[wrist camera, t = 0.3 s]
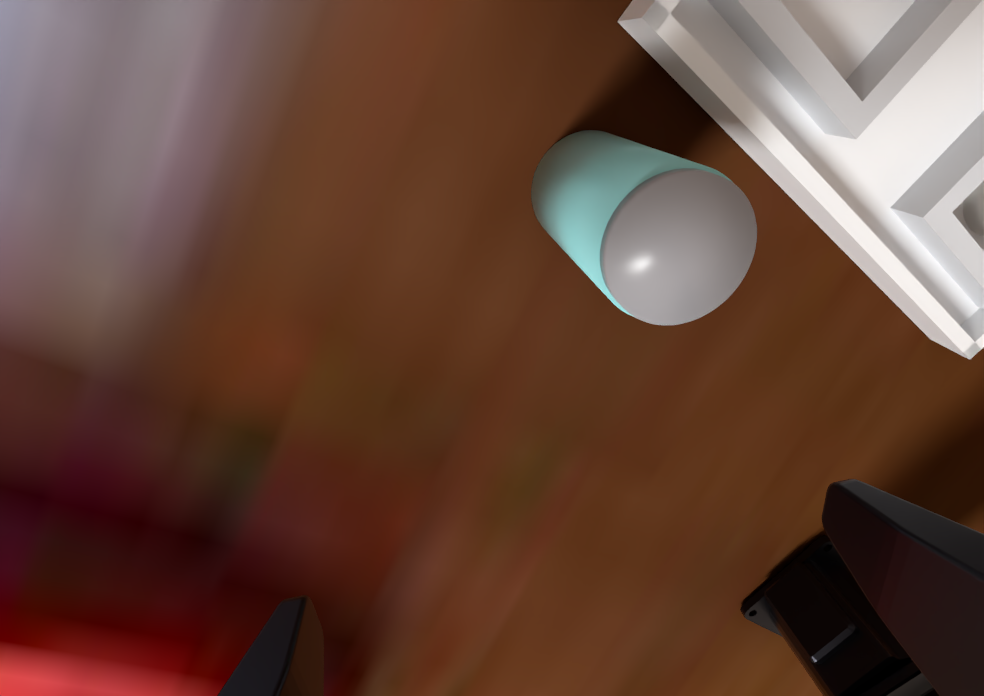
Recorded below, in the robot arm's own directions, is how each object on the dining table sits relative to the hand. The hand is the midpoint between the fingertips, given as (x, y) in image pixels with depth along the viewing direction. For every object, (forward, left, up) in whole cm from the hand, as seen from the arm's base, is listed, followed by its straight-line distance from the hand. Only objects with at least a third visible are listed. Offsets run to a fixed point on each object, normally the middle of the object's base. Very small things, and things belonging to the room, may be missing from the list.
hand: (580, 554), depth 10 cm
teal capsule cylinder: (-1, -5, -13) cm, 14 cm away
